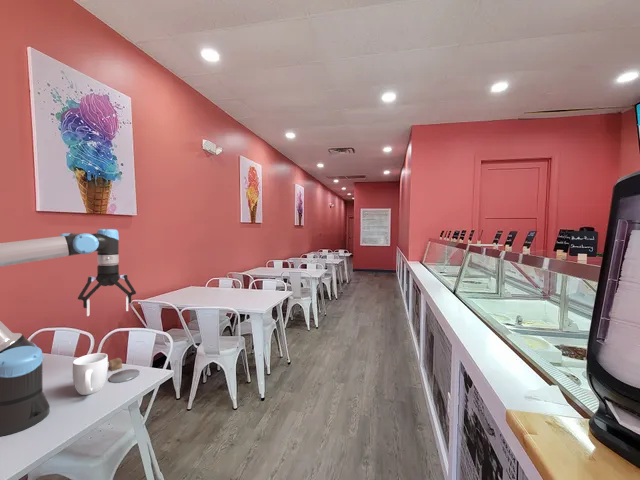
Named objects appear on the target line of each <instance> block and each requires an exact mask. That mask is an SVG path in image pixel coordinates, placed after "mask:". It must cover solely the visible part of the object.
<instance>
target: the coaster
mask: <svg viewBox="0 0 640 480" xmlns="http://www.w3.org/2000/svg"><path fill="white" fill-rule="evenodd" d="M139 376H140V371H139V370H138V369H135V368H134V369H132V368H131V369H128V368H127V369H124V370H120V371H117V372H114V373H113V374H112V375H110V376H109V379H108V381H109V382H110V383H111V384H112V383H113V384H120V383H124V382H125V383H126V382H129V381H132V380H134V379H135V378H137V377H139Z"/></svg>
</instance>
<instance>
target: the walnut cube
mask: <svg viewBox="0 0 640 480" xmlns="http://www.w3.org/2000/svg"><path fill="white" fill-rule="evenodd" d="M108 369H109V370H110V371H111V372H113V371H114V372H115V371H117V370H121V369H123V359H121V358H120V357H116V358H112V359H110V360H109V359H108Z"/></svg>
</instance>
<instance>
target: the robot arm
mask: <svg viewBox="0 0 640 480" xmlns="http://www.w3.org/2000/svg"><path fill="white" fill-rule="evenodd" d="M119 235H120V234H119V230H118V229H110V228H99V229H97V231H96V232H95V233H87V232H86V233H79V232H78V233H75V232H74V233H73V232H69V233H60V235H59V236H52V237H43V238H41V237H40V238H33V239H27V240H17V241H10V242H9V241H8V242H0V268H1V267H7V266H12V265H19V264H20V265H21V264H26V263H32V262H38V261H45V260H52V259H57V258H63V257H68V256H76V255H88V254H92V253H93V252H94V253H95V252H97V253H96V254H97V256H96V257H97V258H96V260H97V261H96V263H97V264H98V265H97V267H96V269H97V272H96V274H97V276H91V275H89V276H88V277H87V282H86V284H85V285H84V287H83V289H82V290H81V291H80V294H79V295H78V296H77V300H79V301H83V305H82V306H83V307H82V308H83V309H86V317H89V316H90V313H91V312H90V311H91V310H90V309H91V308H90V307H91V306H90V297H91V296H92V295H93V294H94V293H96V291H97V290H98V289H99V288H100V287H101V286H102V287H108V286H109V287H111V286H112V287H113V286H116V287H117V288H119V289H120V290H121V291H122V292H123V293H124V294H126V296H125V311H126V312H129V304H131V303H132V296H134V295H136V294H137V291H136V290H135V289H134V287H133V285H132V283H131V282H130V280H129V279H128V278H129V277H128V274H127V273H124V274H121V275H120V274H119V273H120V270H119V269H120V268H119V267H120V265H119V263H120V256H119V255H120V254H119V252H120V251H119V249H120V245H119V243H120V237H119ZM120 279H122V280H124V282H125V283H126V285H127V287H128V288H129V290H130V291H131V292H130V291H129V290H128V289H127V288H126V287H125V286H123V285H122V284H121V283H120V282H119V280H120ZM95 280H96V281H97V282H98V283H97V284H96V285H95V286H93V288H92V289H91V290H89V292H88V293H87V294H86V295H85V293H86V292H87V290H88V288H90V285H91V283H93V282H94V281H95ZM84 295H85V296H84ZM43 360H44V354H43V350H42V349H41V348H40V347H38V346H37V345H36V344H35V343H34V342H32V341H29V340H28V338H26V337H25V336H24V335H23V334H22V333H21V332H12V331H11V330H10V329H9V328H8V326H6V325H5V324H4V323H3V322H2V321H1V320H0V437H2V436H3V437H4V436H7V435H12V434H15V433H18V432H21V431H23V430H26V429H28V428H31V427H33V426H35V425H37V424H38V423H40V422H42V421H43V420H44V419H45V418H47V416H49V414H50V412H51V411H50V403H49V401H48V399H47V398H46V396H45V393H44V392H43V390H44V389H43V387H44V386H43Z"/></svg>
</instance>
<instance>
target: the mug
mask: <svg viewBox="0 0 640 480" xmlns="http://www.w3.org/2000/svg"><path fill="white" fill-rule="evenodd" d="M108 369H109V358H108V354H107V353H104V352H95V353H89V354H86V355H82V356H80V357H78V358H75V359H74V360H73V361H72V379H73V384H74V388H75V390H76V391H77V393H78V394H79V395H82V396H89V395H93V394H96V393H97V392H99V391H100V390H101V389H102V388H103V387H104V385H105V383H106V380H107V376H108V371H109V370H108Z"/></svg>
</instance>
